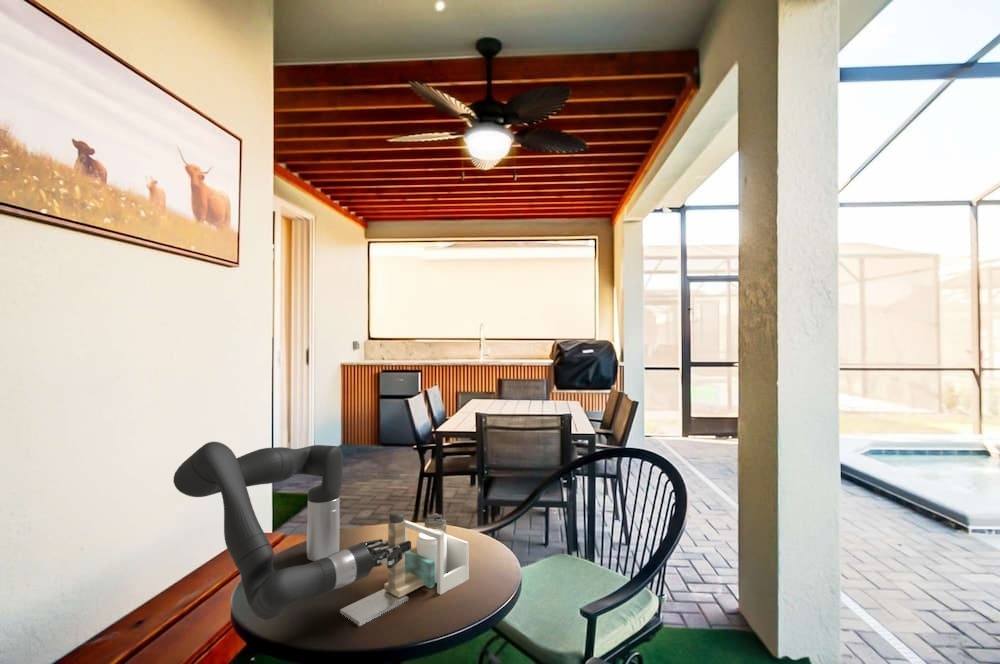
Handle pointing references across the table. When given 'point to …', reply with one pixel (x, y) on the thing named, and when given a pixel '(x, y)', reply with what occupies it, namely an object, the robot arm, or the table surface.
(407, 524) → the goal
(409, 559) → the kicker rod
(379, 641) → the table surface
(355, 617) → the white flat board
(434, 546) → the beverage can
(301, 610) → the table surface
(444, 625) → the table surface
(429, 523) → the lighter
